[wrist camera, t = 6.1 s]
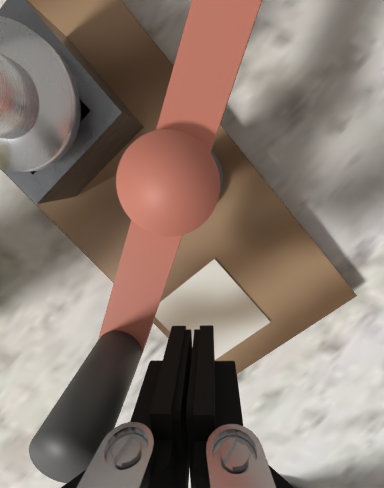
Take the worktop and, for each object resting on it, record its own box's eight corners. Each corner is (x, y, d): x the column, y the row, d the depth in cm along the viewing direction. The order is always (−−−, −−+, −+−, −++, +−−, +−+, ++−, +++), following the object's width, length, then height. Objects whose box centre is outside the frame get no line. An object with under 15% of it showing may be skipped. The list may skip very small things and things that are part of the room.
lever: (157, 360, 13) (117, 500, 8) (88, 337, 13) (-4, 461, 8) (328, -114, 8) (586, -741, 3) (217, -156, 8) (233, -899, 2)
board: (349, 289, 18) (357, 296, 17) (216, 377, 21) (216, 388, 20) (77, -51, 14) (66, -69, 13) (-44, 112, 17) (-61, 108, 16)
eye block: (143, 126, 16) (121, 112, 12) (75, 196, 17) (35, 204, 13) (66, 36, 15) (14, -12, 11) (1, 118, 16) (-66, 102, 12)
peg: (136, 126, 16) (16, 54, 6) (75, 190, 17) (-106, 215, 7) (67, 45, 15) (-205, -192, 5) (7, 119, 16) (-300, 40, 6)
